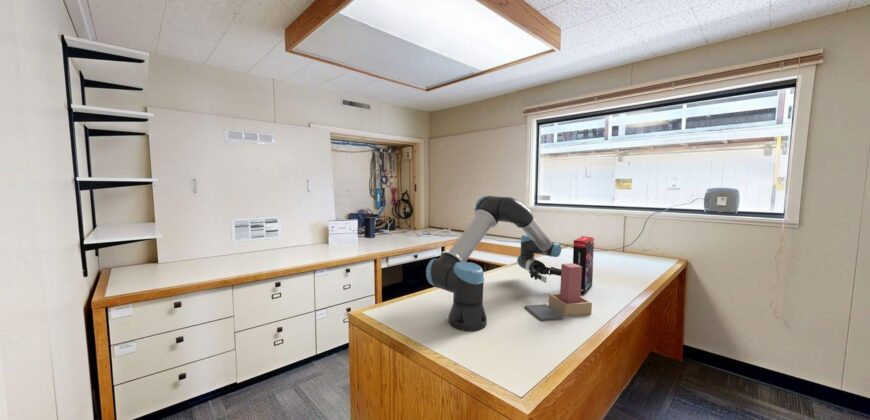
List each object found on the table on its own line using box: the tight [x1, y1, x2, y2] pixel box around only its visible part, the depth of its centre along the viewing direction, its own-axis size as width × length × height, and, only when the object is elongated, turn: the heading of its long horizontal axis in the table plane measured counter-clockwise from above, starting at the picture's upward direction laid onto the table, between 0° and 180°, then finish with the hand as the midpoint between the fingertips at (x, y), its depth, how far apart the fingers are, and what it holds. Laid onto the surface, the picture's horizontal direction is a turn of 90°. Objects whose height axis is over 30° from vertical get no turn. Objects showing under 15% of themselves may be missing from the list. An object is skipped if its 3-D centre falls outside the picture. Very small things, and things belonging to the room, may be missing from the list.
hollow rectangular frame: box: [548, 293, 593, 317], centre depth 146 cm, size 13×13×5 cm
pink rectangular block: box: [559, 262, 582, 304], centre depth 145 cm, size 6×6×20 cm
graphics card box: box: [572, 235, 595, 295], centre depth 172 cm, size 17×7×27 cm, turn 143°
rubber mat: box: [524, 303, 564, 322], centre depth 141 cm, size 10×14×1 cm
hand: (558, 279), depth 154 cm, fingers open, 13 cm apart
